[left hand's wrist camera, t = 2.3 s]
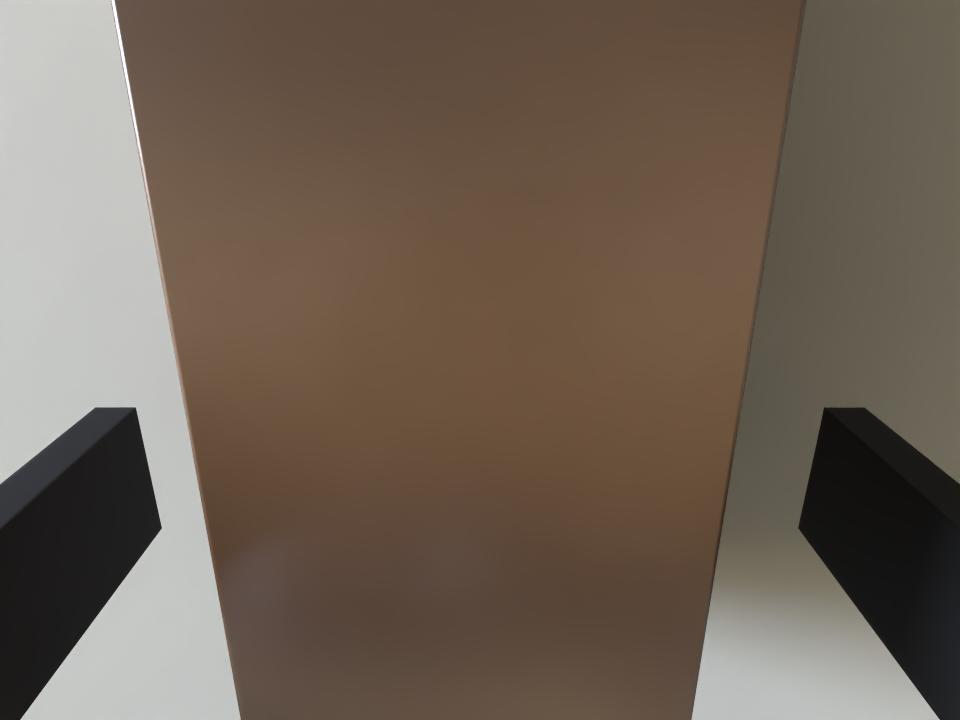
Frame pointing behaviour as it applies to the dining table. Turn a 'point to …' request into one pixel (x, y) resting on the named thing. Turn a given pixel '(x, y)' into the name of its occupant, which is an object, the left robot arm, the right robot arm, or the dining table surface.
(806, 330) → the dining table surface
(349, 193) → the post
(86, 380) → the dining table surface
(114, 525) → the left robot arm
